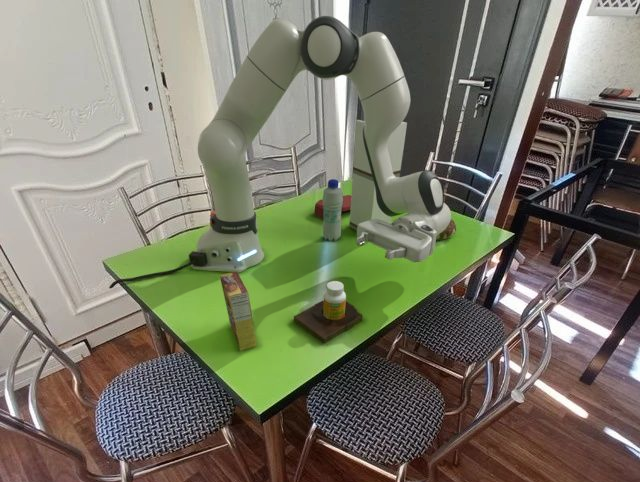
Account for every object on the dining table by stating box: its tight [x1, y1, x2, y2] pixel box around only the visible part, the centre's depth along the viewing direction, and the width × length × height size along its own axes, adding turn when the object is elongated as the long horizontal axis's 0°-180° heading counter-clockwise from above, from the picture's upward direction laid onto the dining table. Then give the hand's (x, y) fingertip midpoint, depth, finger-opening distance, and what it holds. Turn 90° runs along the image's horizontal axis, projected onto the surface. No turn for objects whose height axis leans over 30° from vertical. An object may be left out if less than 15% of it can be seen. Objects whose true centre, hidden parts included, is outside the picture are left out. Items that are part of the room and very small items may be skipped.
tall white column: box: [349, 119, 408, 232], centre depth 122 cm, size 11×11×35 cm
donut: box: [436, 218, 457, 241], centre depth 129 cm, size 14×14×5 cm
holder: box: [293, 300, 364, 345], centre depth 90 cm, size 14×11×2 cm
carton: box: [313, 194, 352, 220], centre depth 147 cm, size 12×5×25 cm
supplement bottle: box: [323, 280, 347, 320], centre depth 88 cm, size 5×5×10 cm
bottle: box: [321, 178, 344, 242], centre depth 121 cm, size 7×7×20 cm
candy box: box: [219, 272, 258, 352], centre depth 80 cm, size 9×4×15 cm, turn 24°
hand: (372, 249), depth 88 cm, fingers open, 8 cm apart
